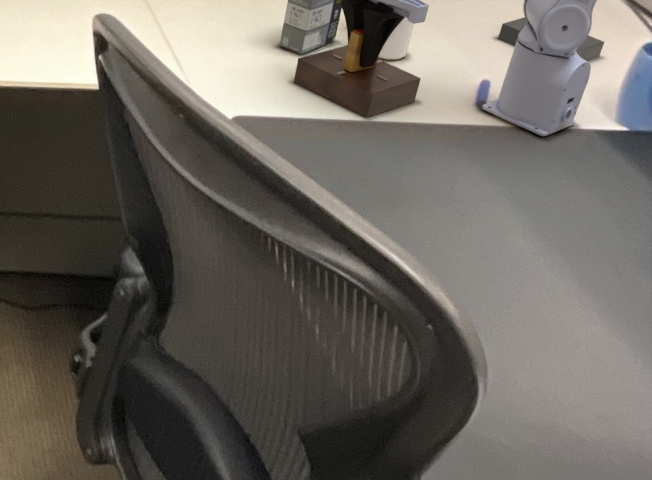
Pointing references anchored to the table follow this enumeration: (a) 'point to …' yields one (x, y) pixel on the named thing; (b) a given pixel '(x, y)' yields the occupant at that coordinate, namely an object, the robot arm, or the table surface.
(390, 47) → the can
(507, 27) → the dark grey rectangular block
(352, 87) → the plate
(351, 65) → the thumbturn
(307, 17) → the tape cartridge
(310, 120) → the table surface
